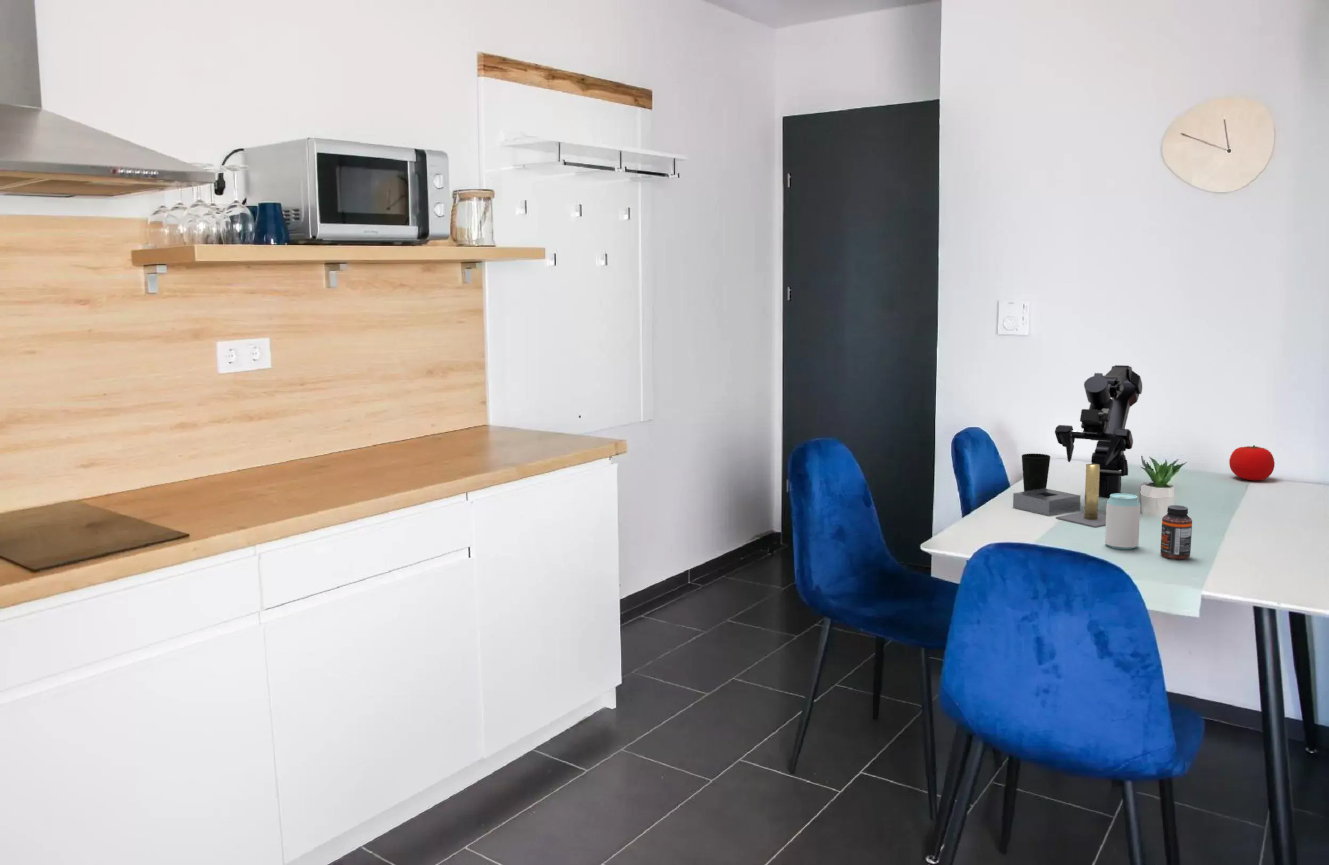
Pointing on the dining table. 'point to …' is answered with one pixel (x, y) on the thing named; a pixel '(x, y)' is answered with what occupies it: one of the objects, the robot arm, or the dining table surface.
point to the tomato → (1252, 463)
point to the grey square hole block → (1046, 501)
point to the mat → (1080, 519)
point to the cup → (1035, 471)
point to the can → (1122, 521)
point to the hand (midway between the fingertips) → (1086, 462)
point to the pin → (1091, 491)
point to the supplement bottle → (1176, 533)
